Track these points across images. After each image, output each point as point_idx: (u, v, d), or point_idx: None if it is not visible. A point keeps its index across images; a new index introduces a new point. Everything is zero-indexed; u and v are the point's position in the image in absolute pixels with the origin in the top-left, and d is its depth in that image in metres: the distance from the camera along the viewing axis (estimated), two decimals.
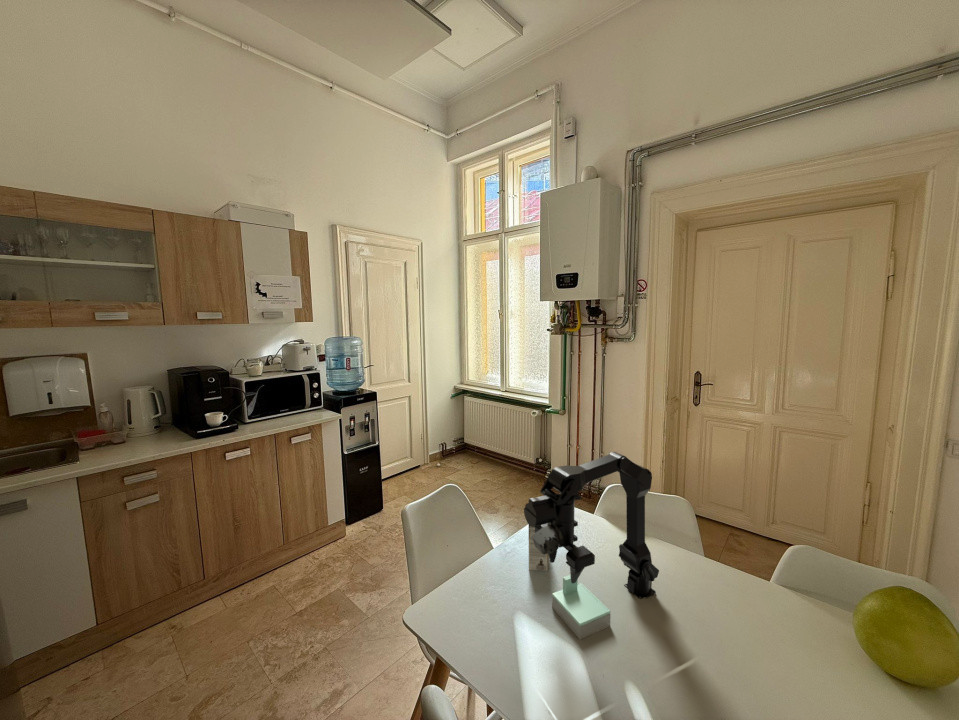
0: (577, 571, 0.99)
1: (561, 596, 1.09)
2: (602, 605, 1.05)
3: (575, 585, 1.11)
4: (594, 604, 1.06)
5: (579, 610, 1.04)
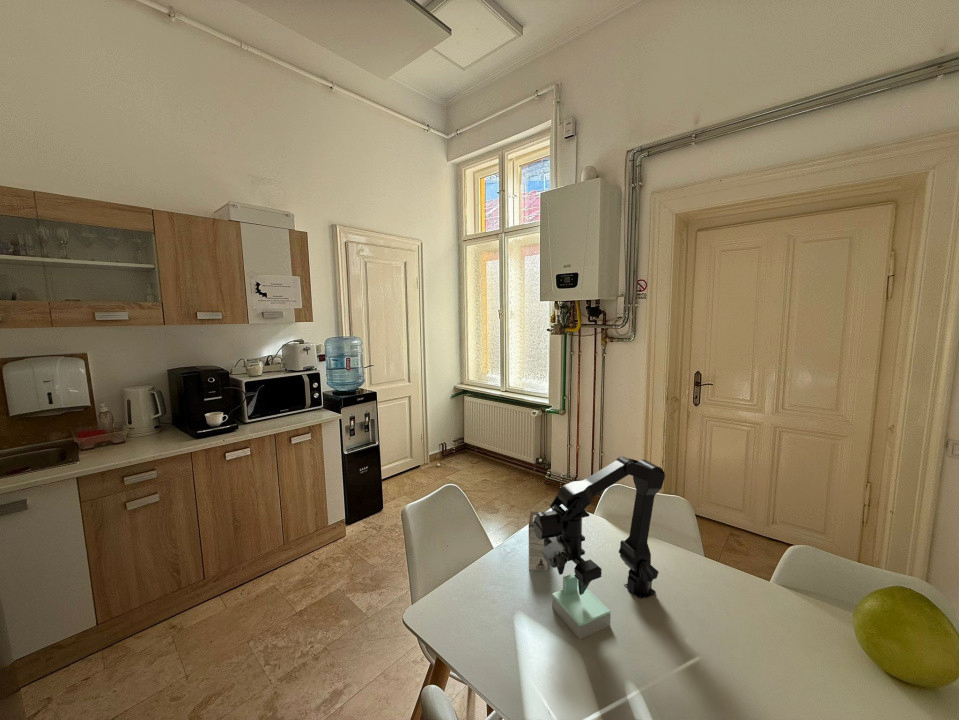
0: (585, 583, 1.05)
1: (561, 596, 1.09)
2: (602, 605, 1.05)
3: (575, 585, 1.11)
4: (594, 604, 1.06)
5: (579, 610, 1.04)
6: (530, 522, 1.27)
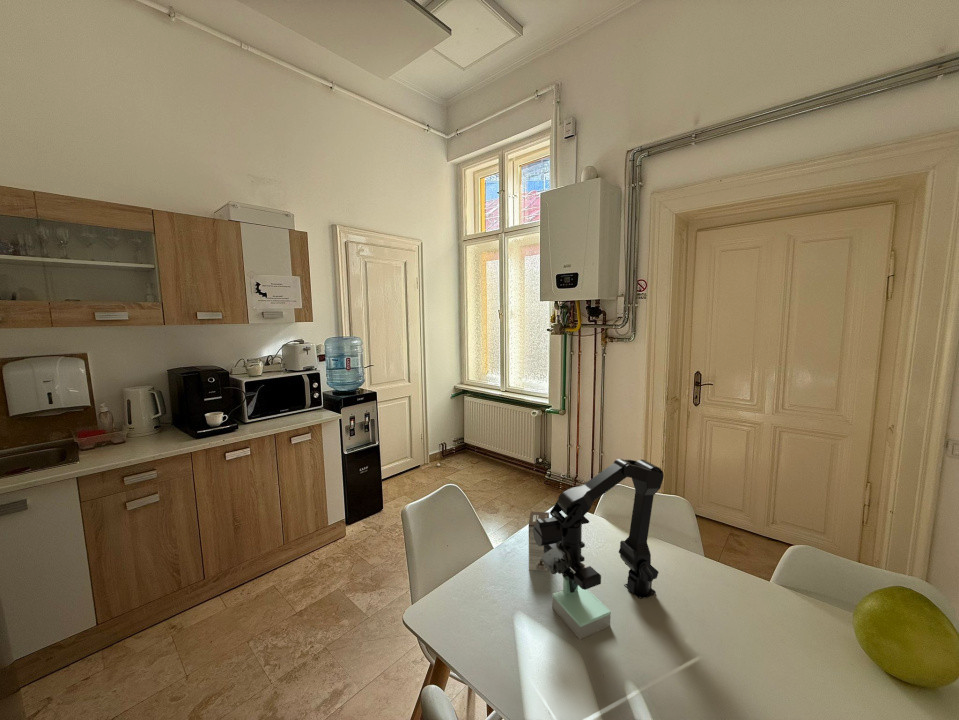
0: (575, 581, 1.08)
1: (562, 596, 1.09)
2: (602, 606, 1.05)
3: None
4: (594, 605, 1.06)
5: (579, 610, 1.04)
6: (530, 522, 1.27)
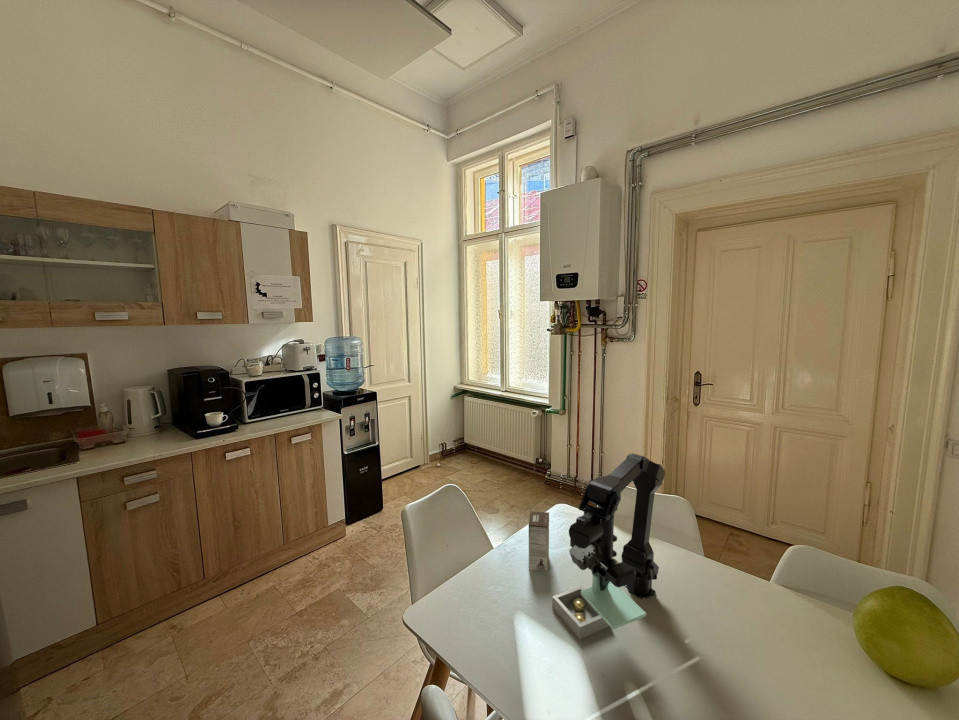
0: (606, 579, 0.99)
1: (591, 594, 0.99)
2: (637, 606, 0.95)
3: None
4: (627, 605, 0.96)
5: (611, 611, 0.94)
6: (530, 522, 1.27)
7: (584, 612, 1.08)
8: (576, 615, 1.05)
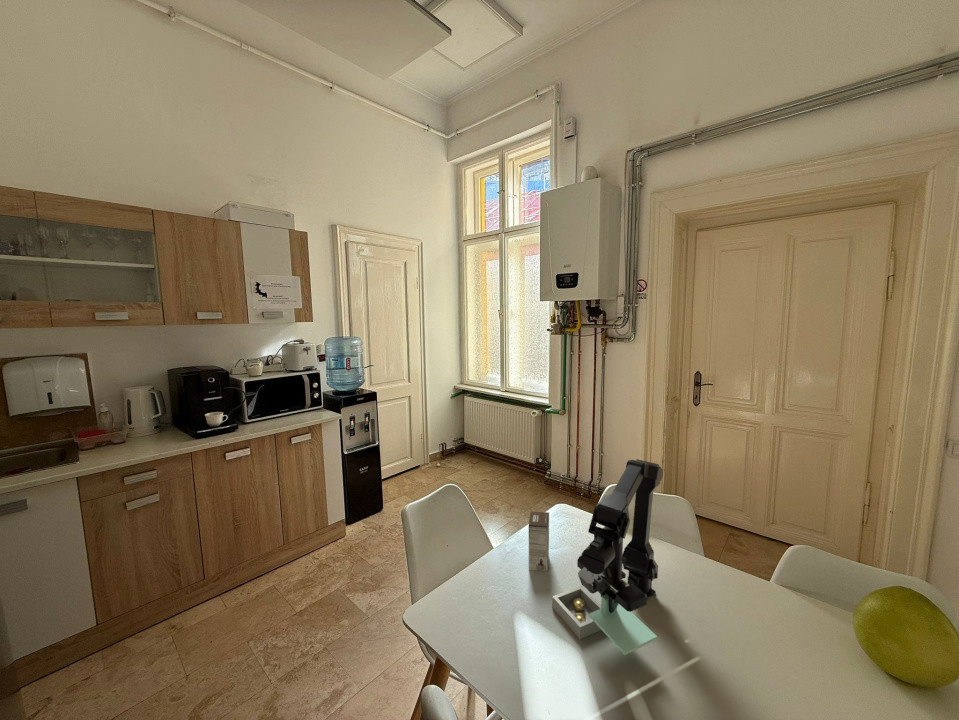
0: (616, 601, 0.97)
1: (600, 617, 0.98)
2: (647, 629, 0.94)
3: None
4: (637, 628, 0.94)
5: (622, 635, 0.92)
6: (530, 522, 1.27)
7: (584, 612, 1.08)
8: (576, 615, 1.05)
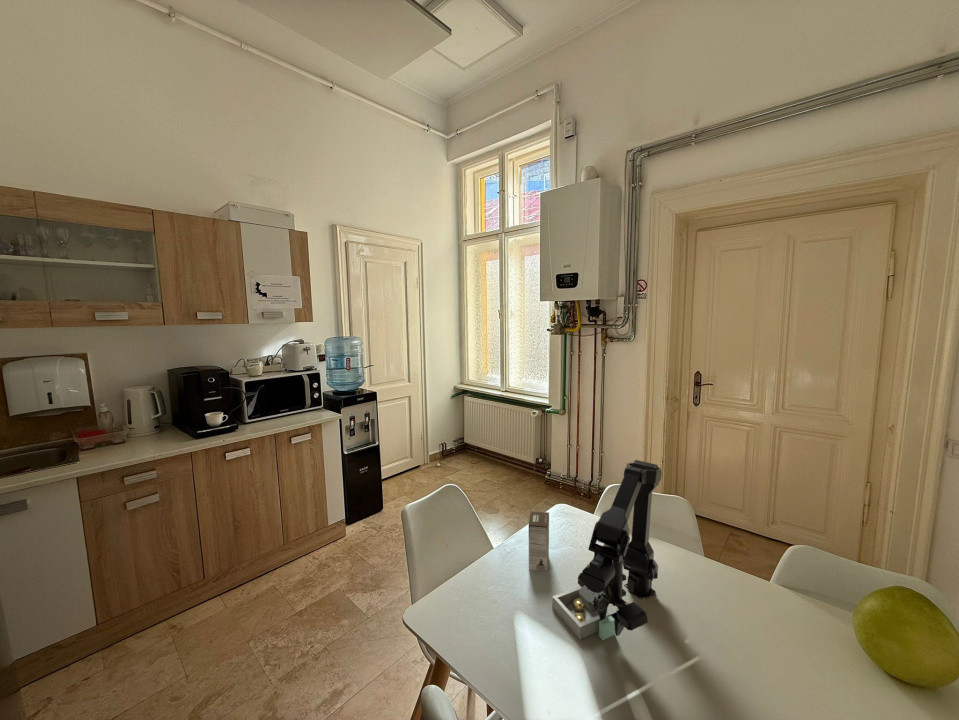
0: (622, 623, 0.96)
1: None
2: None
3: (612, 630, 1.00)
4: None
5: None
6: (530, 522, 1.27)
7: (584, 612, 1.08)
8: (576, 615, 1.05)
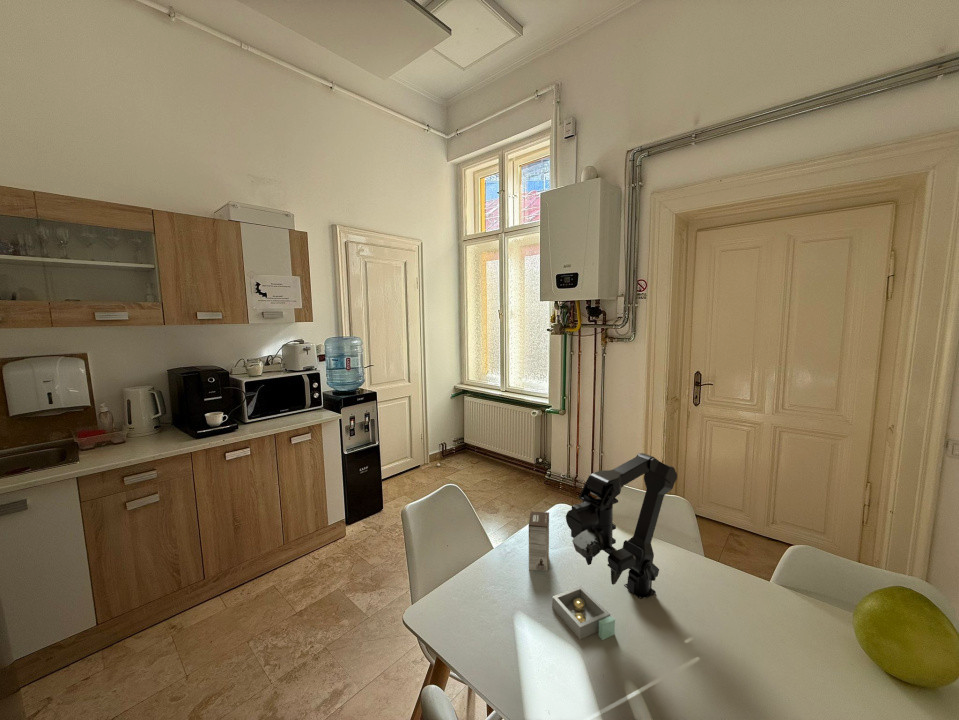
0: (617, 573, 1.02)
1: None
2: None
3: (612, 629, 1.01)
4: None
5: None
6: (530, 522, 1.27)
7: (584, 612, 1.08)
8: (576, 615, 1.05)
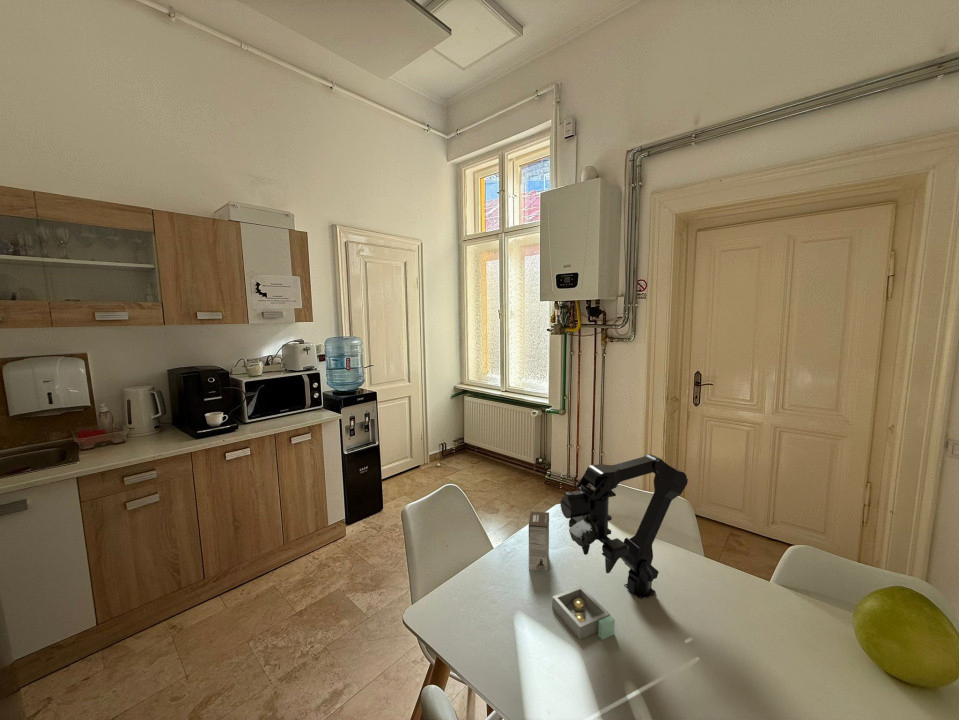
0: (612, 562, 1.06)
1: None
2: None
3: (612, 629, 1.01)
4: None
5: None
6: (530, 522, 1.27)
7: (584, 612, 1.08)
8: (576, 615, 1.05)
